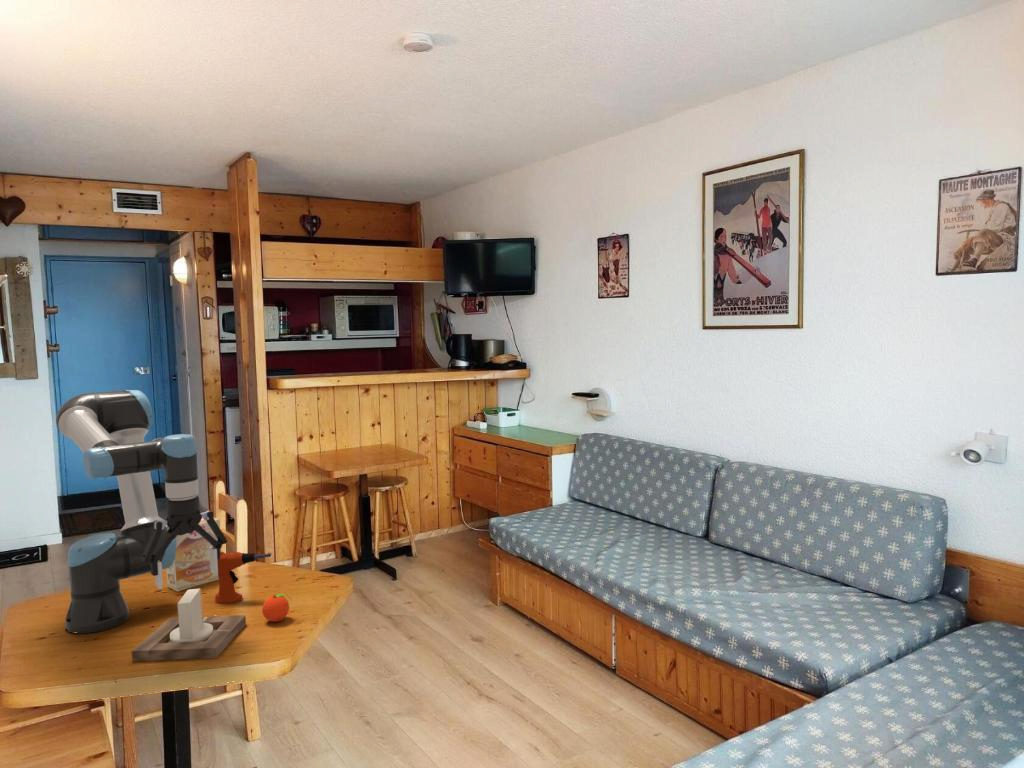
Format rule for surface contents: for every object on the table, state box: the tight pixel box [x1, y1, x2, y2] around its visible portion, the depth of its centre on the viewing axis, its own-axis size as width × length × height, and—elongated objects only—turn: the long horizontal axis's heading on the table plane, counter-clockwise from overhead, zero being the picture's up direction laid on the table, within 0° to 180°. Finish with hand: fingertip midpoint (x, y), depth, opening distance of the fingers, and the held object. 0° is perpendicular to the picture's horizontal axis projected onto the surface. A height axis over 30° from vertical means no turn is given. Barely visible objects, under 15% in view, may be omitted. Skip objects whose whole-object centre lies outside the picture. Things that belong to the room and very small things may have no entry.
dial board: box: [131, 614, 247, 662], centre depth 183 cm, size 20×20×3 cm
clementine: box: [261, 593, 292, 623], centre depth 195 cm, size 8×7×7 cm
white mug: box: [170, 588, 213, 643], centre depth 184 cm, size 14×10×11 cm
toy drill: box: [214, 551, 272, 604], centre depth 210 cm, size 5×19×15 cm, turn 86°
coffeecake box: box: [165, 516, 222, 593], centre depth 227 cm, size 15×7×20 cm, turn 139°
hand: (187, 580), depth 182 cm, fingers open, 13 cm apart
